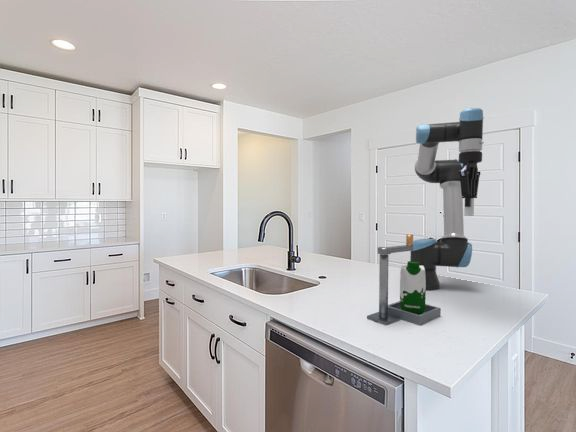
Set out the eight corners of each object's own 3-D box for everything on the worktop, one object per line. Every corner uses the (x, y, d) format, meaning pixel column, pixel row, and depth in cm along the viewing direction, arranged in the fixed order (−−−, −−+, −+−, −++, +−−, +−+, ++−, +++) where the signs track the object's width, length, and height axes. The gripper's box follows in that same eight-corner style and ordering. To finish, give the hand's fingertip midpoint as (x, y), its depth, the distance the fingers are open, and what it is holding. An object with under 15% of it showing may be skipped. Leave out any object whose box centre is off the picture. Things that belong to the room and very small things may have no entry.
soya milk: (399, 317, 115) (400, 262, 114) (399, 309, 124) (400, 258, 123) (426, 320, 112) (427, 264, 111) (424, 312, 121) (425, 259, 120)
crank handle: (384, 254, 110) (384, 237, 109) (374, 253, 113) (375, 236, 113) (416, 250, 118) (416, 235, 118) (406, 249, 122) (407, 234, 122)
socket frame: (384, 313, 119) (384, 305, 119) (405, 306, 128) (405, 298, 128) (419, 325, 108) (420, 316, 108) (440, 316, 117) (440, 307, 117)
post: (367, 318, 114) (367, 254, 113) (380, 313, 119) (381, 252, 118) (386, 325, 108) (387, 257, 107) (399, 319, 113) (400, 255, 112)
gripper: (473, 148, 111) (472, 216, 112) (488, 152, 119) (487, 215, 120) (451, 151, 117) (450, 215, 118) (467, 154, 125) (466, 215, 126)
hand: (468, 215), depth 119 cm, fingers closed
